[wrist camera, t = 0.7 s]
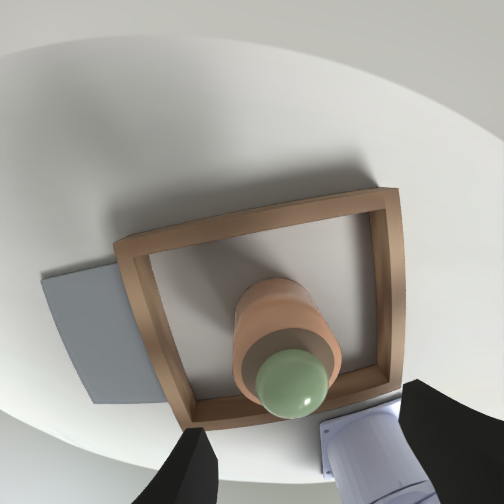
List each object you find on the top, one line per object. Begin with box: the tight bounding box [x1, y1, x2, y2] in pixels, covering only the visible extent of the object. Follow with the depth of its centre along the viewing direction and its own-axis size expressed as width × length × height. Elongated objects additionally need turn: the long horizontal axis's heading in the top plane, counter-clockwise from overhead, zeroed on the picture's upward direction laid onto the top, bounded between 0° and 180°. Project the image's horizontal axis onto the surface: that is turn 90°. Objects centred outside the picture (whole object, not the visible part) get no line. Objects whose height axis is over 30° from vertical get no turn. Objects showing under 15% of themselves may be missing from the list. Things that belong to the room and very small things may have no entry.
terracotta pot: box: [233, 278, 342, 419], centre depth 15 cm, size 5×5×9 cm
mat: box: [41, 262, 168, 404], centre depth 19 cm, size 11×7×1 cm, turn 11°
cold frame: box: [113, 187, 406, 432], centre depth 18 cm, size 14×16×2 cm
